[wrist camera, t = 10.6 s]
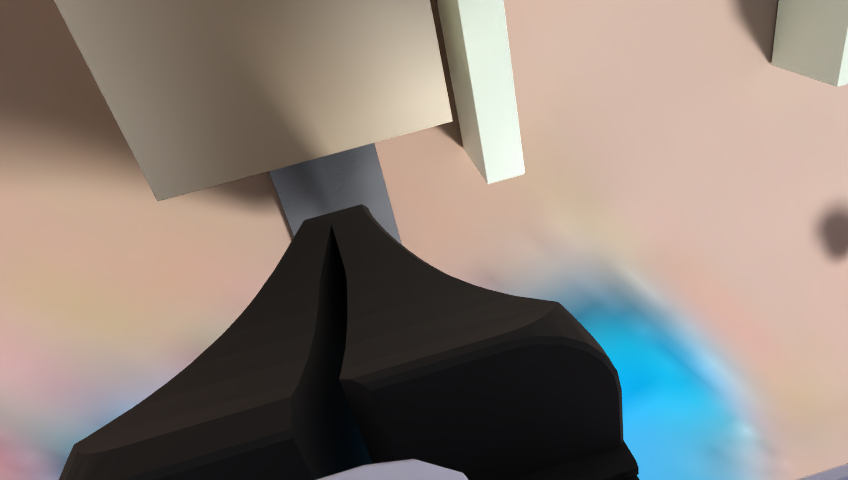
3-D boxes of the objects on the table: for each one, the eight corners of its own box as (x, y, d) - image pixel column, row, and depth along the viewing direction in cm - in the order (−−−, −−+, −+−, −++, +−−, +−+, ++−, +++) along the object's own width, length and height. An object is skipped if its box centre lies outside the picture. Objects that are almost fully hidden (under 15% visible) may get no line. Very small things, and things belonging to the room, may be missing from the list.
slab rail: (317, -425, 9) (324, -519, 7) (476, 330, 16) (499, 385, 14) (-36, -350, 8) (-135, -427, 6) (297, 382, 16) (298, 445, 14)
